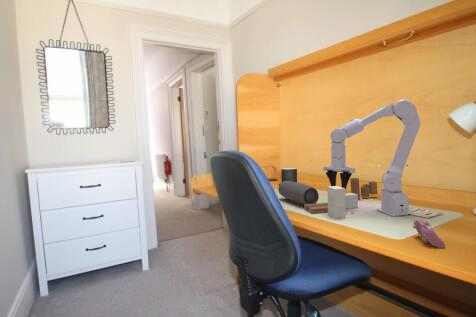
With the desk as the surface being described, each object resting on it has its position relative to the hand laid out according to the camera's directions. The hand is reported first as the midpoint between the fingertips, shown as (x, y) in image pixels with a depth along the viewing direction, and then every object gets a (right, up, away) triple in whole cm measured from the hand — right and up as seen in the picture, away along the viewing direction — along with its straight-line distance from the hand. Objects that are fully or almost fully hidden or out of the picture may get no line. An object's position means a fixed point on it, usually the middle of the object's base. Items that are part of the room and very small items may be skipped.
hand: (338, 188), depth 115 cm
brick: (+4, -9, +2) cm, 10 cm away
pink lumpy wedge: (+11, -12, -39) cm, 43 cm away
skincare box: (-5, -10, -11) cm, 16 cm away
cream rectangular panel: (+2, -10, -8) cm, 12 cm away
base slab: (-7, -10, -2) cm, 12 cm away
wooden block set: (+17, -7, +18) cm, 26 cm away
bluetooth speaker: (-15, -9, +14) cm, 22 cm away
